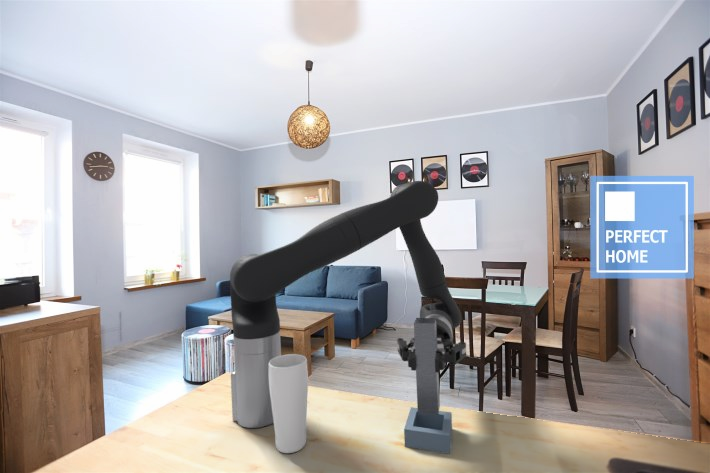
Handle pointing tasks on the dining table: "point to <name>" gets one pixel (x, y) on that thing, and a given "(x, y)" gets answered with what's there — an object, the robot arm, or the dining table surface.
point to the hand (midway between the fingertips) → (425, 365)
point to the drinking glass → (289, 400)
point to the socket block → (428, 431)
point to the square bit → (426, 366)
